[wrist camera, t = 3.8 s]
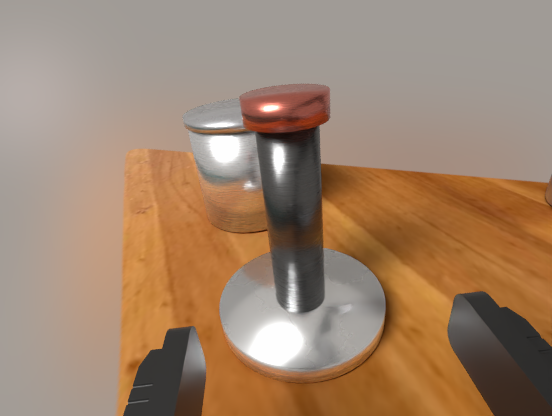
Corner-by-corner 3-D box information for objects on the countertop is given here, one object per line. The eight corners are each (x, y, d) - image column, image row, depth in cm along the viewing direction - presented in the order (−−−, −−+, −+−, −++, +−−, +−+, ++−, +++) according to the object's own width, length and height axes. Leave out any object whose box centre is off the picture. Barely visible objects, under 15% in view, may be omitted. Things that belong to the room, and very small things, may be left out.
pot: (294, 182, 38) (287, 92, 33) (306, 226, 29) (299, 115, 25) (210, 192, 37) (191, 103, 33) (199, 239, 29) (172, 130, 25)
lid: (357, 252, 26) (362, 67, 19) (413, 370, 17) (456, 102, 11) (227, 267, 26) (189, 86, 19) (216, 394, 17) (138, 139, 10)
